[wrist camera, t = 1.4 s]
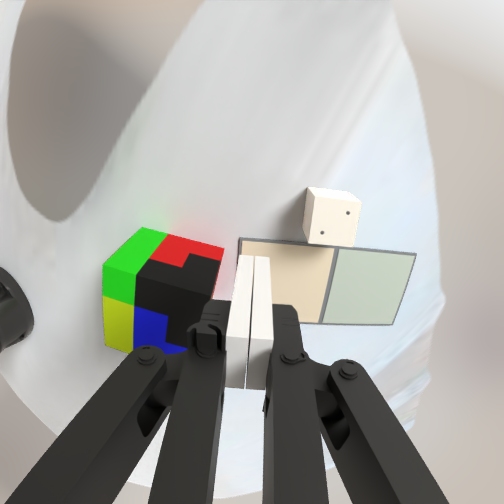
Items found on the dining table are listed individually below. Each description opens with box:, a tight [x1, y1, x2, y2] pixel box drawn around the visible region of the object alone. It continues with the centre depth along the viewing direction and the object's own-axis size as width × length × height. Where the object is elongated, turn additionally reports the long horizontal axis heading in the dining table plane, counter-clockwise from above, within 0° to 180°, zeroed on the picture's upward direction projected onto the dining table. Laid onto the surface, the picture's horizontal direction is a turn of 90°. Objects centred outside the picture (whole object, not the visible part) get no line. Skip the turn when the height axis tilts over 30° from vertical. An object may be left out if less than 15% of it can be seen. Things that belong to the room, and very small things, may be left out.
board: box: [238, 237, 417, 325], centre depth 35 cm, size 22×11×1 cm, turn 85°
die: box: [302, 187, 362, 247], centre depth 29 cm, size 5×5×5 cm
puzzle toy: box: [103, 227, 224, 354], centre depth 30 cm, size 10×10×10 cm
